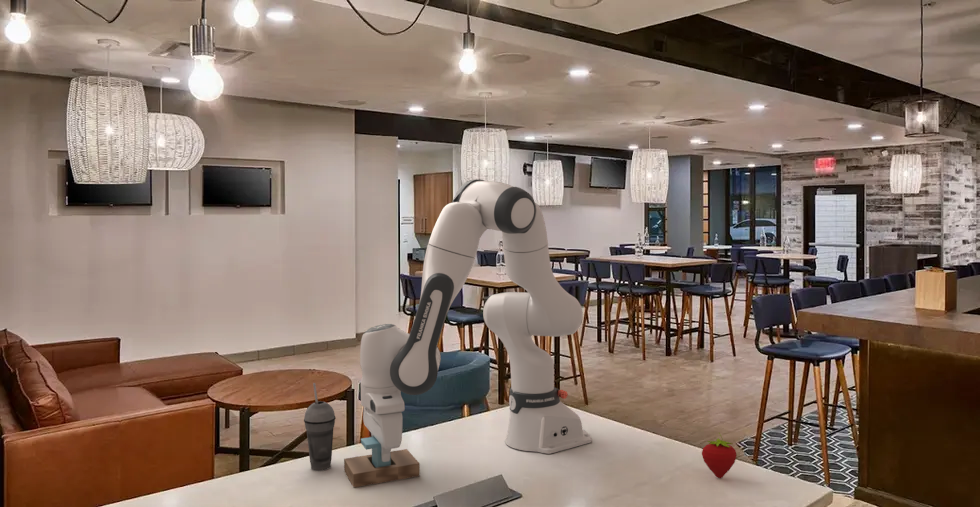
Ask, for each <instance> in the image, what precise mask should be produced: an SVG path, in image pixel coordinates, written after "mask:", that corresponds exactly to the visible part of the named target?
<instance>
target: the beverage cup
mask: <svg viewBox="0 0 980 507" xmlns="http://www.w3.org/2000/svg"><path fill="white" fill-rule="evenodd" d="M316 386H317V384H316V382H313V392H314V399H315V400H314V401H315V402H312V403H311V404H310V405H309V406H308V407H307V409H306V411H305V412H304V413H305V414H304V419H303V422H304V426H305V427H304V428H305V430H306V437H307V446H308V447H307V448H308V455H309V463H310V468H311V470H312V471H315V472H319V471H320V472H321V471H322V472H323V471H327V470H329V469H330V468H331V466H332V464H331V463H332V455H333V443H334V442H333V441H334V440H333V439H334V427H335V423H336V415H335V411H334V408H333V407H332V405H330V404H329V403H328V402H325V401H323V400H322V401H321V400H318V392H317V387H316Z"/></svg>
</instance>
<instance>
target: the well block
mask: <svg viewBox="0 0 980 507" xmlns="http://www.w3.org/2000/svg"><path fill="white" fill-rule="evenodd" d="M390 456H391V465H390V466H383V467H377V468H376V467H375V466H374V465H373V463H372V454H366V455H361V456H353V457H346V458H343V465H344V466H343V470H344V471H343V472H344V473H345V475H346V476H347V479H348V480H349V482H350V484H351V486H352V487H353V488H359V487H365V486H371V485H377V484H381V483H388V482H394V481H401V480H405V479H411V478H417V477H420V476H421V475H420V474H421V473H420V471H421V470H420V465H421V464H420V462H419V461H418V460H417V459H416V457H415V456H413V454H412V453H411V452H410V451H409V449H407V448H403V449H398V450H397V449H396V450H391V452H390Z"/></svg>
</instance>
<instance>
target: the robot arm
mask: <svg viewBox="0 0 980 507" xmlns="http://www.w3.org/2000/svg"><path fill="white" fill-rule="evenodd" d="M487 230H492V231H498V232H501V234H502V246H503V247H502V248H503V250H502V251H503V256H504V266H505V273H506V275H507V277H508V278H509V279H510V280H511V281H512V283H513V284H516V285H517V286H519V287H521V288H522V289H524V290H526V292H525V291H524V292H521V291H507V292H500V293H495V294H492V295H490V296H489V297H488V298H487V300H486V301H485V303H484V306H483V310H482V311H483V312H482V314H483V317H482V318H483V321H484V323H485V325H486V326H487V328H488V329H489V330H490V331H491V332H492V333H494V335H496V336H497V338H498V339H500V341H501V343H502V344H503V347H504V348H505V350H506V352H507V355H508V359H509V366H510V384H511V385H510V388H509V396H508V397H509V399H508V400H509V401H508V402H509V411H510V413H509V422H508V429H507V433H506V436H505V440H504V442H505V444H506V445H507V446H508V447H510V448H512V449H515V450H518V451H525V452H534V453H535V452H536V453H542V454H549V455H550V454H553V453H557V452H561V451H562V452H563V451H565V450H569V449H572V448H575V447H579V446H583V445H586V444H590V443H592V436H591V435H590V433H588V432H587V431H586V430H584V429H583V423H582V419H581V418H580V416H579V415H578V413H576V412H575V411H574V410H572V409H571V408H570V407H568V405H566V404H564V403H563V402H562V401H561V399H564V400H565V399H566V398H567V397H568V396H569V395H568V394H569V393H568V392H567V391H566V390H564V389H559V388H557V387H555V362H554V359H553V358H552V356H551V354H550V353H548V351H546V350H544V349H543V348H541V347H539V346H537V344H536V343H535V342H534V341H533V338H532V336H537V337H538V336H539V337H540V336H541V337H562V336H564V337H565V336H569V335H573V334H575V333H577V331H578V330H579V329H580V327H581V325H582V323H583V317H584V314H583V308H582V305H581V303H580V302H579V300H578V299H577V298H576V297H575V296H573V295H572V294H570V293H569V292H567V291H566V290H565V289H564V288H563V286H562V285H561V284H560V283H559V281H558V280H557V279H556V277H555V275H554V272H553V269H552V264H551V258H550V252H549V243H548V232H547V227H546V222H545V219H544V215H543V212H542V208H541V206H540V205H539V204H538V203H536V202H535V199H534V198H533V196H532V195H531V194H530V193H529V192H528V191H527V190H525V189H523V188H521V187H519V186H513V185H511V184H507V183H504V182H500V181H489V180H484V179H480V178H479V179H469V180H467V181H465V182H463V183H462V184H461V185H460V186H459V188H458V189H457V191H456V192H455V195H454V198H453V199H452V202H450V203H447V204H446V205H445V206H443V208H442V210H441V212H440V213H439V215H438V217H437V220H436V222H435V224H434V225H433V228H432V232H431V234H430V238H429V240H428V243H427V246H426V249H425V255H424V260H423V266H422V274H421V275H422V278H421V289H420V290H421V291H420V297H419V298H420V299H419V302H418V305H417V306H418V307H417V310H416V314H415V317H414V320H413V323H412V326H411V330H410V332H409V333H408V332H406V331H404V330H402V329H401V328H399V327H398V326H397V325H395V324H392V323H384V324H379V325H375V326H372V327H369V328H368V329H367V330H365V331H364V332H363V334H362V336H361V340H360V353H359V365H360V369H361V379H360V405H361V406H362V407H363V416H362V420H363V424H364V427H366V429H367V430H368V431H369V432H370V434H371V435H370V437H375V438H376V439H377V440H378V442H379V443H380V444H381V447H382V451H381V452H380V453H381V460H382V461H383V462H387V461H389V460H390V452H391V451H392V449H397V448H400V447H401V444H402V441H403V413H402V412H405V409H406V408H405V401H404V399H403V397H402V394H401V392H402V393H404V394H406V395H409V396H418V395H422V394H424V393H425V394H426V392H428V391H430V390H431V389H432V388H433V387H434V385H435V383H436V381H437V378H438V375H439V374H438V372H439V367H440V365H441V361H442V360H441V357H442V356H441V354H442V353H441V351H440V348H439V347H438V343H439V339H440V338H441V334H442V330H443V328H444V324H445V320H446V318H447V315H448V312H449V310H450V307H451V306H452V304H453V302H454V300H455V299H456V298H457V296H458V294H459V293H460V291H461V289H462V288H463V287H464V285H465V283H466V281H467V279H468V278H469V275H470V272H471V271H472V269H473V265H474V262H475V261H476V260H475V259H476V256H477V254H478V253H477V252H478V249H479V244H480V239H481V238H482V236H483V235H484V233H485V232H486V231H487ZM560 398H561V399H560Z"/></svg>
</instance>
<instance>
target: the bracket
mask: <svg viewBox="0 0 980 507" xmlns="http://www.w3.org/2000/svg"><path fill="white" fill-rule="evenodd" d="M360 444H361V445H362V446H363V448H364V449H365V450H371V455H372V463H373V465H374V466H375V467H376V468H377V467H383V466H390V465H391V456H390V460H389V461H387V462H383V461H382V460H381V453H380V452H381V451H382V447H381V444H380V443H379V442H378V440H377V439H376V438H375V437H372V436H369V437H363V438H362V437H361V438H360Z"/></svg>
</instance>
